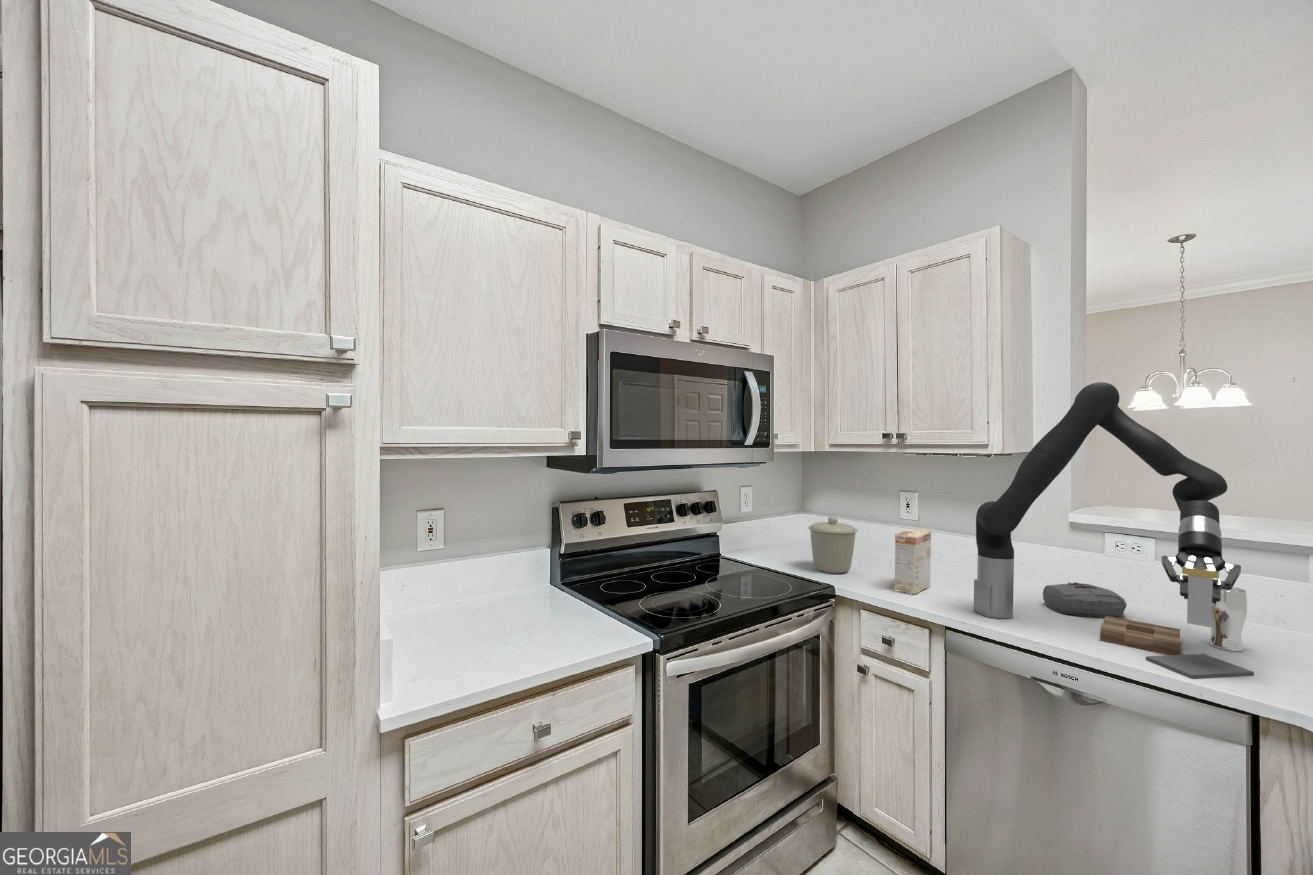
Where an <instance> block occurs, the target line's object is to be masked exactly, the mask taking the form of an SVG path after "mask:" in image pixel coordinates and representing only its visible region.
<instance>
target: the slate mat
mask: <svg viewBox="0 0 1313 875" xmlns="http://www.w3.org/2000/svg"><path fill="white" fill-rule="evenodd" d="M1145 661H1148V662H1151V663H1153V664H1156V665H1157V666H1160V667H1163V668H1165V669H1168V670H1171V671H1172V672H1175V673H1177V674H1180V675H1182V676H1185V677H1187V678H1189V679H1193V680H1195V679H1210V678H1211V679H1212V678H1231V677H1250V676H1252V677H1253V676H1254V675H1255V673H1254V671H1252V670H1249V669H1248V668H1245V667H1241V666H1238V665H1236V664H1233V663H1230V662H1228V661H1225V660H1222V659H1219V658H1217V657H1214V656H1211V655H1208V654H1205V653H1191V654H1180V655H1150V656H1149V655H1148V656H1146V657H1145Z"/></svg>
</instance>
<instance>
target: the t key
mask: <svg viewBox="0 0 1313 875" xmlns="http://www.w3.org/2000/svg"><path fill="white" fill-rule="evenodd" d="M1181 574H1184V575H1188V599H1186V600H1187V606H1186V608H1187V609H1186V612H1187V615H1186V616H1187V617H1186V624H1189V625H1195V626H1201V627H1205V628H1206V627H1207V628H1210V629H1211V628H1212V594H1213V578H1214V579H1219V580H1220V571H1216V570H1208V569H1200V568H1192V567H1184V566H1182V567H1181Z"/></svg>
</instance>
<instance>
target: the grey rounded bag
mask: <svg viewBox="0 0 1313 875" xmlns="http://www.w3.org/2000/svg"><path fill="white" fill-rule="evenodd" d="M1042 597H1043V598H1042V599H1043V601H1044V604H1046V606H1047V607H1048V608H1050V609H1051V610H1053V611H1055V612H1057V613H1061V614H1067V615H1073V616H1079V617H1091V618H1105V617H1106V616H1112V617H1117V618H1120V617H1122V616H1123V615H1124V612H1125V610H1126V608H1127V606H1128V604H1127V601H1126V599H1125V598H1123V597H1122V596H1121V595H1119V594H1118V593H1116V592H1114V590H1111V589H1107V588H1104V587H1100V586H1097V585H1094V584H1088V583H1080V582H1067V583H1059V584H1050V585H1048V584H1047V585H1045V586H1044V587H1043V591H1042Z"/></svg>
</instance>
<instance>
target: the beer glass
mask: <svg viewBox="0 0 1313 875" xmlns="http://www.w3.org/2000/svg"><path fill="white" fill-rule="evenodd" d="M1247 601H1248V600H1247V591H1246V589H1242V588H1239V587H1235V586H1233V587H1232V589H1231V590H1226V589H1222V590H1221V600H1220V602H1217V601H1216V604H1214V603H1212V628H1211V627H1210V629H1211V631H1210V632H1211V633H1210V635H1209V636H1210V637H1209V640H1208V644H1209V645H1210V646H1211V647H1213V648H1216V649H1220V650H1224V651H1229V652H1236V653H1239V652H1243V651H1244V645H1243V640H1242V632H1243V628H1244V624H1245V621H1246V618H1247V612H1248V611H1247V610H1248V602H1247Z"/></svg>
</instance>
